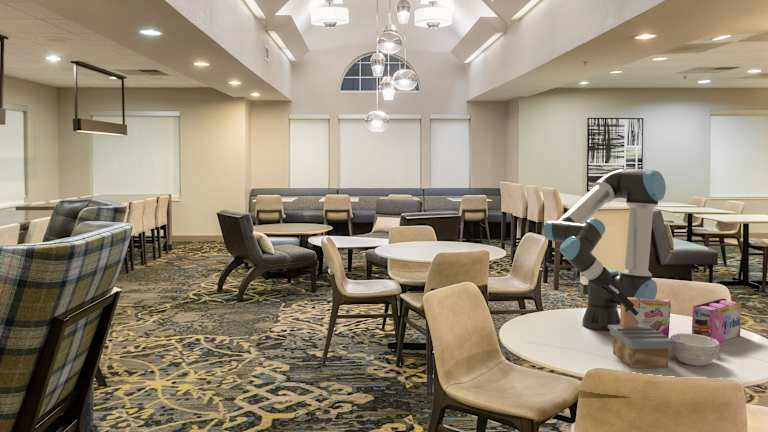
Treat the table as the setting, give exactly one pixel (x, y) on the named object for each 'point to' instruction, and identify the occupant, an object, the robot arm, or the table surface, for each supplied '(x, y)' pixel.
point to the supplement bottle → (701, 327)
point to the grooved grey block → (638, 332)
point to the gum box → (720, 318)
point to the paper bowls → (695, 349)
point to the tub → (641, 356)
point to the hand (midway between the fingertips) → (639, 318)
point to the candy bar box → (655, 314)
